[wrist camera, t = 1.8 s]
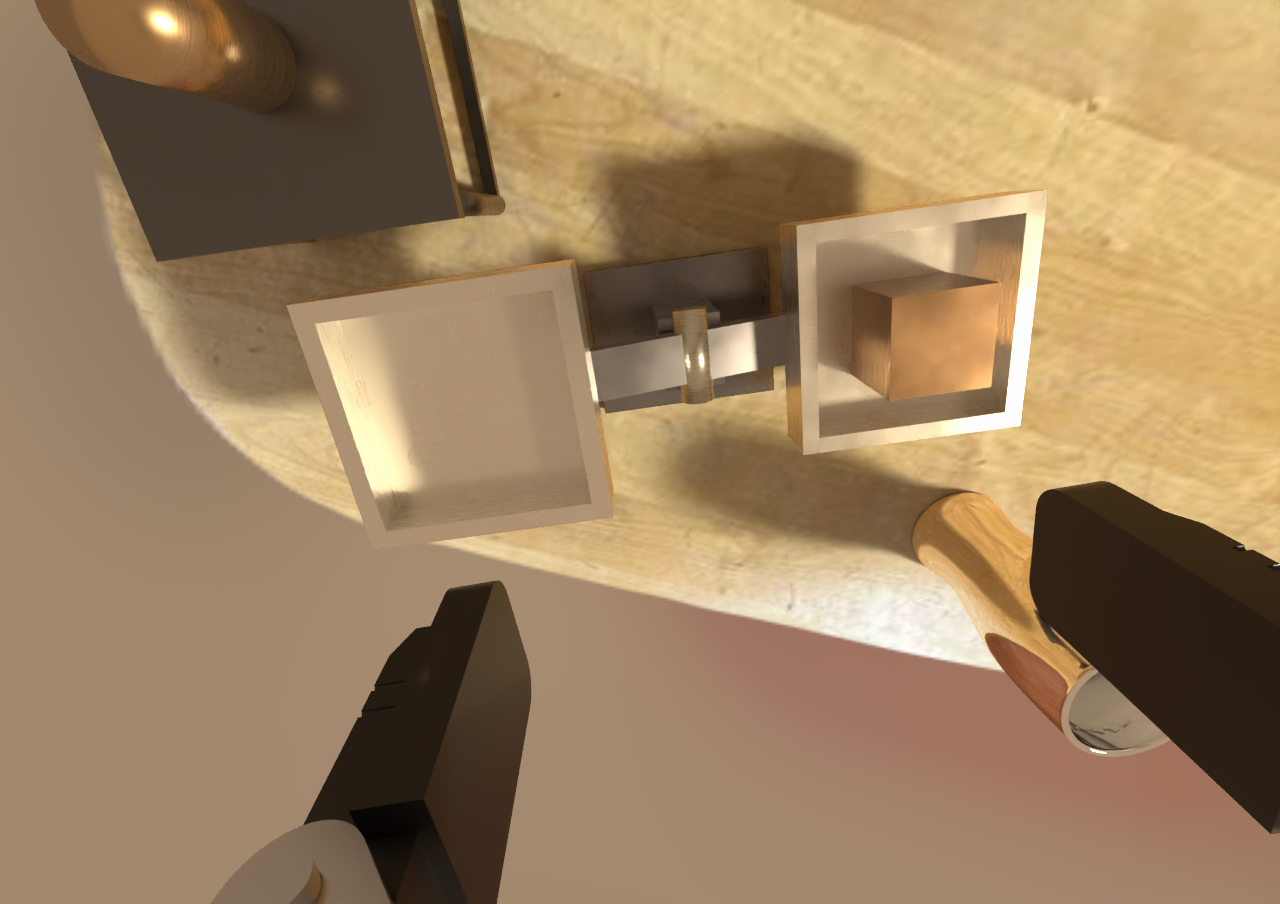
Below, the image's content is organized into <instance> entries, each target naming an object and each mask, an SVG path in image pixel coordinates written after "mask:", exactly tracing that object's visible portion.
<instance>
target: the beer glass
mask: <svg viewBox="0 0 1280 904" xmlns="http://www.w3.org/2000/svg"><path fill="white" fill-rule="evenodd" d="M912 545H913V549H914V552H915V554H916V556H917V558H918V559H919V560H920V562H921V563H922V564H923V565H925V566H926V567H927V568H928V569H930V570H931V571H933V572H934V573H935V574H937V575H938V576H940V577H941V578H942V579H944V580H945V581H946V582H947V583H948V584H949V585H950V586H951V587H952V589H953V590H954V591H955V593H956V594H957V596H958V597H959V599H960V601H961V603H962V604H963V606H964V608H965V610H966V612H967V614H968V615H969V617H970V619H971V621H972V623H973V625H974V626H975V628H976V630H977V632H978V633H979V635H980V637H981V639H982V640H983V642H984V643H985V645H986V646H987V648H988V650H989V651H990V653H991V654H992V656H993V657H994V659H995V660H996V661H997V662H998V664H999V665H1000V666H1001V668H1002V669H1003V670H1004V671H1005V673H1006V674H1007V675H1008V676H1009V678H1010V679H1011V680H1012V681H1013V682H1014V683H1015V684H1016V686H1017V687H1018V688H1019V689H1020V690H1021V691H1022V692H1023V693H1024V694H1025V696H1026V697H1027V698H1028V699H1029V700H1030V701H1031V702H1032V703H1033V704H1034V705H1035V706H1036V707H1037V708H1038V709H1039V710H1040V711H1041V712H1042V713H1043V714H1044V715H1045V716H1046V717H1047V718H1048V719H1049V720H1050V721H1051V722H1052V723H1053V724H1054V725H1055V726H1056V727H1057V728H1058V729H1059V730H1060V731H1061V732H1062V733H1063V734H1064V735H1065V736H1066V738H1067V739H1068V740H1069V741H1070V742H1071V743H1072V744H1073V745H1074V746H1075V747H1077V748H1078V749H1080V750H1082V751H1084V752H1086V753H1089V754H1092V755H1097V756H1103V757H1121V756H1128V755H1133V754H1137V753H1141V752H1145V751H1148V750H1150V749H1153V748H1155V747H1157V746H1159V745H1162V744H1164V743H1166V742H1167V741H1169V740H1171V739H1169V738H1168V737H1167V736H1166V735H1165V734H1164V733H1163V732H1162V731H1161V730H1160V729H1159V728H1158V727H1157V726H1156V725H1155V724H1154V723H1153V722H1151V721H1150V720H1149V719H1148V718H1147V717H1146V716H1145V715H1144V714H1143V713H1142V712H1141V711H1140V710H1139V709H1138V708H1137V707H1136V706H1134V705H1133V704H1132V703H1131V702H1130V701H1129V700H1128V699H1127V698H1126V697H1125V696H1124V695H1123V694H1122V693H1121V692H1120V691H1119V690H1118V689H1116V688H1115V687H1114V686H1113V685H1112V684H1111V683H1110V682H1109V681H1108V680H1107V679H1106V678H1105V677H1104V676H1103V675H1102V674H1101V673H1099V672H1098V671H1097V670H1096V669H1095V668H1094V667H1093V666H1092V665H1091V664H1090V663H1089V662H1088V661H1087V660H1086V659H1085V658H1084V657H1083V656H1081V655H1080V654H1079V653H1078V652H1077V651H1076V650H1075V649H1074V648H1073V647H1072V646H1071V645H1070V644H1069V643H1068V642H1067V641H1066V640H1065V639H1063V638H1062V637H1061V636H1060V635H1059V634H1058V633H1057V632H1056V631H1055V630H1054V629H1053V628H1052V627H1051V626H1050V625H1049V624H1048V623H1047V622H1046V621H1045V620H1044V619H1043V617H1042V616H1041V615H1040V613H1039V611H1038V610H1037V608H1036V606H1035V604H1034V601H1033V598H1032V595H1031V591H1030V585H1029V576H1030V566H1031V556H1032V545H1033V539H1032V538H1031V537H1029V536H1027V535H1026V534H1024V533H1023V532H1021V531H1020V530H1019V529H1017V528H1016V527H1015V526H1014V525H1013V524H1012V523H1011V521H1010V520H1009V519H1008V518H1007V516H1006V515H1005V514H1004V512H1003V511H1002V510H1001V509H1000V507H999V506H998V505H997V504H996V503H995V502H994V501H992V500H991V499H989V498H988V497H986V496H983V495H981V494H977V493H970V492H964V493H956V494H952V495H949V496H947V497H944V498H942V499H940V500H938V501H937V502H935V503H934V504H932V505H931V506H930V507H929V508H928V509H927V510H926V511H925V512H924V513H923V514H922V515H921V517H920V518H919V520H918V521H917V523H916V525H915V528H914V531H913V536H912Z"/></svg>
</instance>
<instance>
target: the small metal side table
mask: <svg viewBox="0 0 1280 904" xmlns="http://www.w3.org/2000/svg"><path fill="white" fill-rule="evenodd" d="M35 2H36V5H37V7H38V10H39V12H40V14H41V16H42V18H43V20H44V22H45V23H46V25H47V26H48V28H49V30H50V31H51V32H52V34H53V35H54V36H55V38H56V39H57V40H58V41H59V42H60V43H61V44H62V46H63V47H65V48H66V49H67V51H68V54H69V56H70V58H71V61H72V63H73V66H74V68H75V70H76V73H77V75H78V77H79V80H80V82H81V84H82V87H83V89H84V91H85V94H86V96H87V99H88V101H89V103H90V106H91V108H92V110H93V113H94V115H95V117H96V120H97V122H98V124H99V127H100V129H101V131H102V134H103V136H104V138H105V141H106V143H107V145H108V148H109V150H110V152H111V155H112V157H113V159H114V162H115V164H116V167H117V169H118V171H119V174H120V176H121V178H122V181H123V183H124V185H125V188H126V190H127V192H128V195H129V197H130V199H131V202H132V204H133V206H134V209H135V211H136V213H137V216H138V218H139V220H140V223H141V225H142V227H143V230H144V232H145V235H146V237H147V239H148V242H149V244H150V246H151V249H152V251H153V253H154V256H155V258H156V260H157V262H159V261H168V260H176V259H183V258H189V257H196V256H203V255H210V254H217V253H224V252H231V251H238V250H245V249H252V248H258V247H268V246H278V245H287V244H297V243H306V242H314V241H316V240H317V239H321V238H327V237H334V236H341V235H348V234H355V233H362V232H369V231H376V230H383V229H390V228H396V227H403V226H410V225H417V224H424V223H431V222H438V221H445V220H452V219H459V218H465V217H464V216H487V215H500V214H502V213H503V212H504V210H505V202H504V200H503V198H502V197H501V196H500V195H499V190H498V185H497V180H496V176H495V171H494V166H493V161H492V156H491V151H490V146H489V142H488V137H487V132H486V127H485V122H484V117H483V112H482V108H481V103H480V98H479V93H478V88H477V83H476V78H475V74H474V69H473V64H472V59H471V54H470V49H469V44H468V40H467V35H466V30H465V25H464V20H463V15H462V10H461V6H460V1H459V0H444V3H445V8H446V13H447V17H448V22H449V27H450V31H451V36H452V41H453V45H454V50H455V55H456V59H457V64H458V69H459V73H460V78H461V83H462V87H463V92H464V97H465V101H466V106H467V111H468V115H469V120H470V125H471V129H472V134H473V139H474V143H475V148H476V153H477V157H478V162H479V167H480V171H481V176H482V181H483V185H484V190H485V193H480V192H472V191H464V190H458V186H457V182H456V177H455V173H454V169H453V164H452V160H451V156H450V151H449V147H448V143H447V138H446V134H445V130H444V125H443V121H442V117H441V112H440V108H439V103H438V99H437V95H436V90H435V86H434V82H433V77H432V73H431V69H430V64H429V60H428V56H427V51H426V47H425V43H424V38H423V34H422V29H421V25H420V21H419V16H418V12H417V8H416V3H415V0H35Z"/></svg>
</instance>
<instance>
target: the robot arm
mask: <svg viewBox="0 0 1280 904" xmlns="http://www.w3.org/2000/svg"><path fill="white" fill-rule="evenodd" d="M1029 585H1030V591H1031V595H1032V598H1033V601H1034V604H1035V606H1036V608H1037V610H1038V611H1039V613H1040V615H1041V616H1042V617H1043V619H1044V620H1045V621H1046V622H1047V623H1048V624H1049V625H1050V626H1051V627H1052V628H1053V629H1054V630H1055V631H1056V632H1057V633H1058V634H1059V635H1060V636H1061V637H1062V638H1063V639H1065V640H1066V641H1067V642H1068V643H1069V644H1070V645H1071V646H1072V647H1073V648H1074V649H1075V650H1076V651H1077V652H1078V653H1079V654H1080V655H1081V656H1083V657H1084V658H1085V659H1086V660H1087V661H1088V662H1089V663H1090V664H1091V665H1092V666H1093V667H1094V668H1095V669H1096V670H1097V671H1098V672H1099V673H1101V674H1102V675H1103V676H1104V677H1105V678H1106V679H1107V680H1108V681H1109V682H1110V683H1111V684H1112V685H1113V686H1114V687H1115V688H1116V689H1118V690H1119V691H1120V692H1121V693H1122V694H1123V695H1124V696H1125V697H1126V698H1127V699H1128V700H1129V701H1130V702H1131V703H1132V704H1133V705H1134V706H1136V707H1137V708H1138V709H1139V710H1140V711H1141V712H1142V713H1143V714H1144V715H1145V716H1146V717H1147V718H1148V719H1149V720H1150V721H1151V722H1153V723H1154V724H1155V725H1156V726H1157V727H1158V728H1159V729H1160V730H1161V731H1162V732H1163V733H1164V734H1165V735H1166V736H1167V737H1168V738H1169V739H1171V740H1172V741H1173V742H1174V743H1175V744H1176V745H1177V746H1178V747H1179V748H1180V749H1181V750H1182V751H1183V752H1184V753H1185V754H1187V755H1188V756H1189V757H1190V758H1191V759H1192V760H1193V761H1194V762H1195V763H1196V764H1197V765H1198V766H1199V767H1200V768H1202V769H1203V770H1204V771H1205V772H1206V773H1207V774H1208V775H1209V776H1210V777H1211V778H1212V779H1213V780H1214V781H1215V782H1216V783H1217V784H1218V785H1219V786H1221V788H1223V789H1224V790H1225V791H1226V792H1227V793H1228V794H1229V795H1230V796H1231V797H1232V798H1233V799H1234V800H1235V801H1236V802H1237V803H1238V804H1239V805H1241V806H1242V807H1243V808H1244V809H1245V810H1246V811H1247V812H1248V813H1249V814H1250V815H1251V816H1252V817H1253V818H1254V819H1255V820H1256V821H1258V822H1259V823H1260V824H1261V825H1262V826H1263V827H1264V828H1265V829H1266V830H1267V831H1268V832H1269V833H1270V834H1275V833H1280V564H1279V563H1277V562H1275V561H1273V560H1272V559H1270V558H1268V557H1266V556H1264V555H1262V554H1260V553H1258V552H1256V551H1254V550H1248V551H1247V550H1246V549H1245V547H1244V545H1243V544H1241V543H1239V542H1237V541H1235V540H1233V539H1232V538H1230V537H1228V536H1226V535H1224V534H1222V533H1220V532H1218V531H1216V530H1214V529H1212V528H1211V527H1209V526H1207V525H1205V524H1203V523H1200V522H1197V521H1193V520H1190V519H1187V518H1184V517H1181V516H1178V515H1174V514H1171V513H1168V512H1165V511H1163V510H1161V509H1159V508H1157V507H1155V506H1153V505H1151V504H1150V503H1148V502H1146V501H1144V500H1142V499H1140V498H1139V497H1137V496H1135V495H1133V494H1131V493H1129V492H1127V491H1126V490H1124V489H1122V488H1120V487H1118V486H1116V485H1114V484H1112V483H1110V482H1105V481H1099V482H1093V483H1087V484H1081V485H1075V486H1069V487H1063V488H1057V489H1051V490H1047V491H1045V492H1043V493H1042V494H1041V496H1040V497H1039V499H1038V502H1037V506H1036V514H1035V525H1034V535H1033V545H1032V556H1031V566H1030V576H1029ZM374 686H375V691H371V693H370V695H369V697H368V699H367V701H366V703H365V705H364V707H363V709H362V717H359V718H358V719H357V721H356V723H355V725H354V726H353V728H352V730H351V732H350V734H349V736H348V739H347V740H346V742H345V744H344V746H343V748H342V750H341V752H340V754H339V756H338V758H337V760H336V762H335V764H334V766H333V768H332V770H331V772H330V774H329V776H328V778H327V780H326V782H325V783H324V785H323V787H322V790H321V791H320V793H319V795H318V797H317V799H316V801H315V803H314V805H313V807H312V809H311V811H310V813H309V815H308V817H307V819H306V821H305V823H304V825H303V826H300V827H298V828H295V829H293V830H291V831H289V832H287V833H285V834H283V835H282V836H280V837H278V838H277V839H275V840H273V841H271V842H270V843H269V844H267V845H266V846H265V847H263V848H262V849H260V850H259V851H258V852H257V853H255V854H254V855H253V856H252V857H251V858H250V859H248V860H247V861H246V862H245V863H244V864H243V865H242V866H241V867H240V868H239V869H238V870H237V871H236V872H235V873H234V874H233V875H232V876H231V877H230V879H229V880H228V881H227V882H226V883H225V885H224V886H223V887H222V888H221V890H220V891H219V893H218V894H217V895H216V897H215V898H214V900H213V901H212V903H211V904H497V898H498V892H499V886H500V880H501V875H502V869H503V863H504V857H505V851H506V845H507V839H508V834H509V827H510V822H511V816H512V810H513V804H514V798H515V792H516V786H517V781H518V775H519V769H520V763H521V757H522V751H523V745H524V740H525V734H526V727H527V722H528V716H529V710H530V704H531V677H530V670H529V665H528V660H527V657H526V654H525V650H524V647H523V644H522V641H521V637H520V634H519V630H518V627H517V624H516V621H515V617H514V614H513V611H512V607H511V604H510V601H509V597H508V594H507V591H506V589H505V587H504V585H503V584H502V582H500V581H491V582H485V583H480V584H474V585H468V586H462V587H456V588H450V589H449V590H448V591H447V592H446V593H445V595H444V598H443V600H442V602H441V604H440V607H439V609H438V611H437V613H436V616H435V618H434V620H433V623H432V625H431V626H429V627H422V628H417V629H415V630H414V631H413V632H412V633H411V634H410V635H409V636H408V637H407V638H406V639H405V640H404V641H403V642H402V644H400V646H399V647H398V648H397V649H396V650H395V651H394V652H393V653H392V654H391V655H390V656H389V658H388V660H387V662H386V664H385V666H384V667H383V669H382V671H381V673H380V675H379V677H378V679H377V681H376V683H375V685H374Z"/></svg>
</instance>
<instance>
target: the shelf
mask: <svg viewBox="0 0 1280 904" xmlns="http://www.w3.org/2000/svg"><path fill="white" fill-rule="evenodd" d="M1047 196H1048V190H1029V191H1008V192H1001V193H994V194H987V195H980V196H973V197H966V198H959V199H952V200H945V201H938V202H931V203H924V204H917V205H910V206H903V207H896V208H889V209H882V210H875V211H868V212H861V213H854V214H847V215H840V216H833V217H826V218H819V219H812V220H805V221H798V222H792V223H785V224H780V247H781V272H782V297H783V312H777V313H772V314H770V296H769V275H768V255H767V247H758V248H751V249H744V250H737V251H730V252H723V253H716V254H709V255H702V256H695V257H688V258H681V259H674V260H667V261H660V262H653V263H646V264H639V265H632V266H625V267H618V268H611V269H604V270H597V271H590V272H584V273H583V278H584V284H585V290H586V296H587V302H588V308H589V315H590V321H591V327H592V333H593V339H594V345H595V346H594V347H589V341H588V335H587V329H586V323H585V317H584V311H583V305H582V299H581V293H580V287H579V281H578V275H577V269H576V263H575V259H570V260H563V261H556V262H549V263H542V264H536V265H529V266H522V267H515V268H508V269H501V270H494V271H487V272H480V273H473V274H466V275H459V276H452V277H445V278H438V279H431V280H424V281H417V282H410V283H403V284H396V285H389V286H382V287H375V288H368V289H361V290H354V291H347V292H340V293H333V294H326V295H320V296H317V297H313V298H310V299H306V300H303V301H299V302H296V303H292V304H289V305H286V306H287V309H288V312H289V315H290V317H291V320H292V323H293V326H294V329H295V331H296V334H297V337H298V340H299V343H300V345H301V348H302V351H303V354H304V357H305V359H306V362H307V365H308V368H309V371H310V374H311V376H312V379H313V382H314V385H315V388H316V390H317V393H318V396H319V399H320V402H321V404H322V407H323V410H324V413H325V416H326V418H327V421H328V424H329V427H330V430H331V432H332V435H333V438H334V441H335V444H336V447H337V449H338V452H339V455H340V458H341V461H342V463H343V466H344V469H345V472H346V475H347V477H348V480H349V483H350V486H351V489H352V491H353V494H354V497H355V500H356V503H357V505H358V508H359V511H360V514H361V517H362V520H363V522H364V525H365V528H366V531H367V534H368V536H369V539H370V542H371V545H372V548H373V550H376V549H384V548H391V547H398V546H405V545H412V544H420V543H428V542H435V541H443V540H450V539H457V538H465V537H472V536H479V535H487V534H494V533H501V532H509V531H516V530H524V529H531V528H538V527H546V526H553V525H560V524H568V523H575V522H582V521H590V520H597V519H604V518H612V517H613V484H612V478H611V472H610V466H609V460H608V454H607V448H606V442H605V436H604V430H603V424H602V418H601V412H600V406H599V402H602V401H604V406H605V412H606V413H612V412H619V411H626V410H633V409H641V408H648V407H655V406H662V405H669V404H677V403H687V404H701V403H706V402H709V401H711V400H713V399H714V398H720V397H727V396H734V395H741V394H749V393H756V392H763V391H770V390H774V379H773V367H775V366H780V365H784V364H785V371H786V396H787V421H788V436H789V437H790V438H791V440H792V441H793V442H794V444H795V445H796V446H797V447H798V449H799V450H800V451H801V453H802V454H803V455H809V454H816V453H823V452H831V451H838V450H845V449H853V448H860V447H867V446H874V445H882V444H889V443H896V442H904V441H911V440H918V439H926V438H933V437H940V436H947V435H955V434H962V433H969V432H977V431H984V430H991V429H999V428H1006V427H1013V426H1020V421H1021V413H1022V405H1023V396H1024V388H1025V380H1026V371H1027V363H1028V355H1029V346H1030V338H1031V330H1032V321H1033V313H1034V305H1035V296H1036V288H1037V280H1038V271H1039V263H1040V255H1041V246H1042V238H1043V230H1044V221H1045V213H1046V205H1047Z"/></svg>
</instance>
